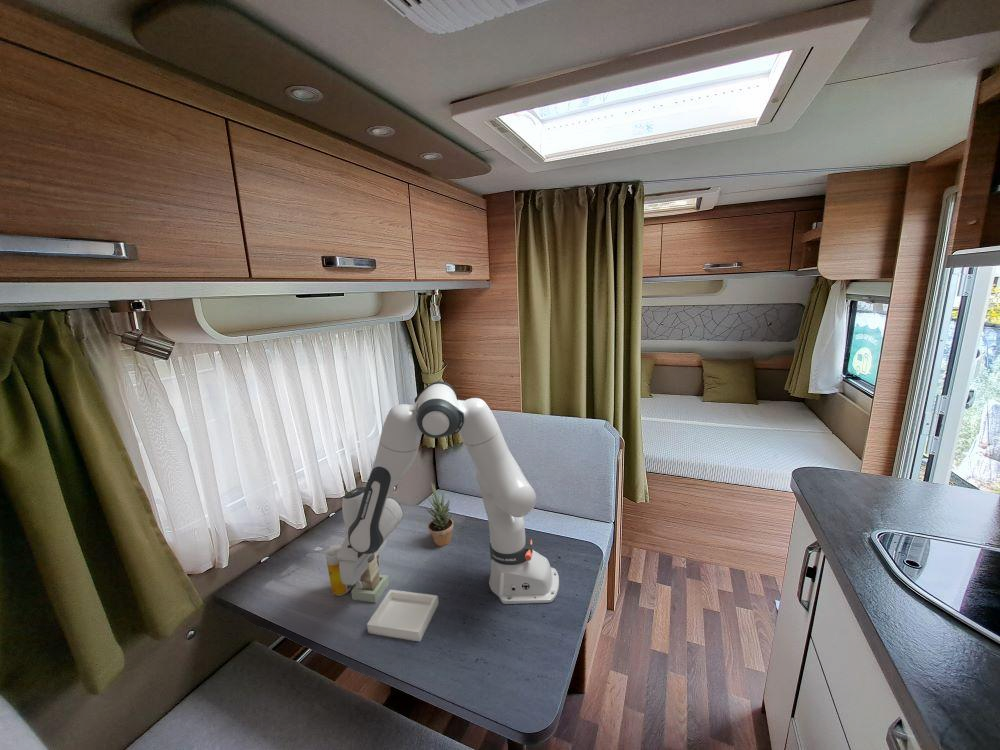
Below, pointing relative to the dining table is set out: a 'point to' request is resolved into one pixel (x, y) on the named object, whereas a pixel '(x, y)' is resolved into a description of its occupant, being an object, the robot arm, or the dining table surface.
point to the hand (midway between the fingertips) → (368, 576)
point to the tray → (403, 615)
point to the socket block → (371, 595)
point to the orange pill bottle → (335, 571)
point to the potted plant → (440, 520)
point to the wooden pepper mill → (371, 574)
